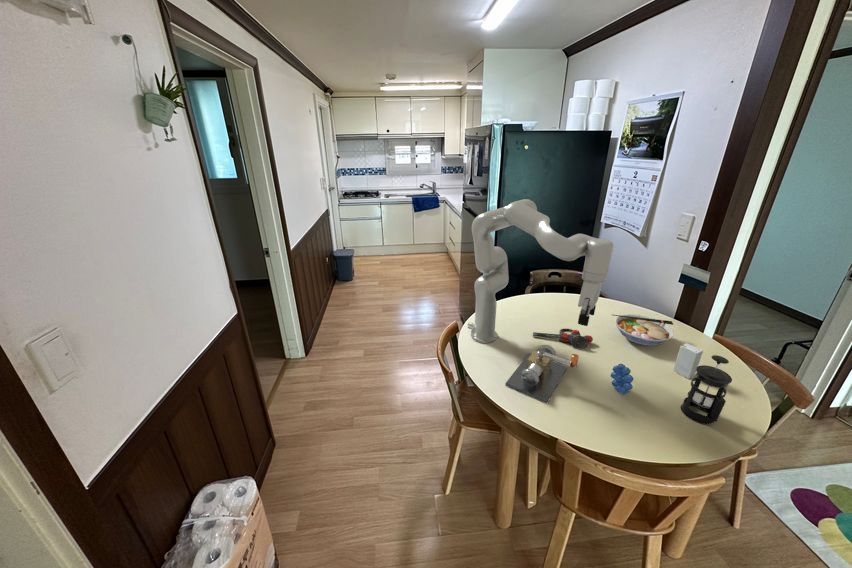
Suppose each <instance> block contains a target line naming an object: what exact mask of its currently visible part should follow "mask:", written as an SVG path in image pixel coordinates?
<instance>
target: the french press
mask: <svg viewBox="0 0 852 568" xmlns="http://www.w3.org/2000/svg"><path fill="white" fill-rule="evenodd" d="M711 359H712V360H713V361H715V362H716V367H715V366H712V365H704V364H703V365H698V367H697V368H696V373H695V376H696V377H695V376H694V377H692V378H691V382H690V386H691V388H690V390H689V391H688V393H687V397H685V398H684V399H683V402H682V404H681V405H680V411H681V413H683V415H684V416H686V418H688V419H689V420H691V421H693V422H696V423H699V424H701V425H712V424H713V423H715V422H717V421H718V419H719V418H720V415H721V413H722V411H723V409H724V407H725V404H726V402H727V401H726V399H725V398H726V395H727V387H728V386H729V385H730V384H731V383H732V382H733V378H732V377H731V376H730V375H729V373H728V372H725V371H724V370H722V369H720V368H719V365H721V364H724V365H725V364H726V365H727V364H729V363H730V362H729V360H728V359H727V358H726V357H724V356H721V355H718V354H717V355H716V354H714V355H711ZM701 382H702V384H705V385H707V387H706V390H705V391H703V390H702V389H700V388H699V387H700V385H701ZM710 387H713V388H716V389H717V388H718V389H717V392H716V394H711V393H709V392H708V391H709V389H710ZM690 406H691V407H696V408H697V407H698V408H699V409H701V410H703V411H705V412H706V415H705V414H702V413H698V412H696V411H694V410H693V409H691V408H690Z"/></svg>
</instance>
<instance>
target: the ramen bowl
mask: <svg viewBox="0 0 852 568" xmlns="http://www.w3.org/2000/svg"><path fill="white" fill-rule="evenodd" d="M611 316H613V317H616V318H615V325H616V328H617V329H618V331H619V332H620V334H621V335H622V336H623V337H625V338H626V339H627V340H629V341H631V342H632V343H635V344H639V345H642V346H657V345H659V346H660V345H661V344H665V342H667V341H669V340H670V339H671V338H673V337H674V330H673V329H672V328H671V327H670V326H671V325H672V326H674V323H673V320H665V319H657V318H653V317H650V316H647V315H646V316H645V315H641V314H635V313H634V314H631V313H628V314H627V313H626V314H622V315H621V314H619V315H618V314H611ZM669 325H670V326H669Z"/></svg>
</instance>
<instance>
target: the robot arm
mask: <svg viewBox="0 0 852 568" xmlns="http://www.w3.org/2000/svg"><path fill="white" fill-rule="evenodd" d="M550 222H551V219H550V217H549V216H548V215H546V214H544V213H542V212H540V211H538V207H537V205H536V203H535V202H534V201H533V200H531V199H527V198H525V199H520V200H516V201H512V202H510V203H509V204H507V205H506V206H503V207H500V208H495V209H492V210H488V211H485V212H483V213H480V214H478V215H477V216H476V217H475V218H473V220H472V224H471V234H472V239H473V248H474V249H473V250H474V259H475V267H476V269H477V270H478V272H480V273H483V275H481V276H479V277H478V278H477V279H476V280H475V281H474V295H475V305H474V306H475V311H474V312H475V313H474V323H473V322H470V321H469V322H468V323H467V329H470V330H471V333H470V337H471V339H472V340H474V341H476V342H477V343H481V344H489V343H490V344H491V343H493V342H495V341H497V339H498V333H497V331H496V318H497V317H496V316H497V304H498V303H497V299H496V293H498V292H499V291H501V290H503V289H505V288H506V286H507V285H508V283H509V278H510V277H509V264H508V255H507V253H506V251H505V250H504V249H503V248H502V247H501V246H495V240H494V237H493V235H492V234H491V233H493V232H495V231H500V230H502V229H505V228H507V227H511V226H515V227H516V228H517V229H519V230H520V229H521V231H524V232H525V233H526V234H527V233H528V235H531V236H533V237H534V238H535V239H536V241H537V243H538V244H539V245H540V247H541V248H542V249H544V250H545V251H546V252H547V253H549V254H551V255H552V256H554V257H556V258H557V259H560V260H562V261H564V262H565V261H566V262H573V261H575V260H577V259H578V258H580V257H584V256H585V258H584V259H585V260H584V264H583V269H582V275H581V279H582V280H583V282H582V287H581V290H580V294H579V299H578V303H577V307H579V308H580V307H581V308H580V311H579V315H578V321H577V324H578V325H581V326H584V327H588V325H589V322H590V316H594V315H595V312H596V307H597V303H598V301H599V298H600V295H601V290H602V286H603V285H602V284H605V283H606V282H607V278H608V275H609V269H610V264H611V260H612V256H613V251H614V243H613V242H612V241H611V240H610V239H606V238H597V237H593V236H590V235H587V234H584V233H576V234H573V235H571V236H570V237H566V236H563V235H562V234H560V233H558V232H557V231H555V230H554V229H553V228H552V227H551V225H550Z"/></svg>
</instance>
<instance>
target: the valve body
mask: <svg viewBox="0 0 852 568" xmlns="http://www.w3.org/2000/svg"><path fill="white" fill-rule="evenodd" d="M538 350H543V351H544V352H546V353H549V354H552V355H555V356H557V354H556V350H555V349H554V347H552V346H550V345H548V344H543V345H541V346H540V347H539V349H538ZM536 354H537V350H533V351H532V353H531V352H529V353H528V354H527V355H526V356H525V358H523V360H522V362H521V363H520V364H519V365H518V367H516V369H515V370H514V371H513V373H512V374H511V375H510V376H509V378H508V379H507V381H506V382H505V384H504V385H505V386H506V387H508V388H510V389H512V390H515V391H516V392H519V393H522V394H524V395H527V396H529V397H530V398H534V399H535V400H538V401H540V402H542V403H544V404H548V403H549V400H550V399H551V397H552V395H553V394H554V392H555V390H556V389H557V386H558V385H559V383H560V381H561V380H562V378H563V376H564V374H565V372H566V371H567V369H568V365H565V364H562V363H560V362H557V361H554V360H551V359H548V358H546V357H543V358H540V357H537V355H536Z"/></svg>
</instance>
